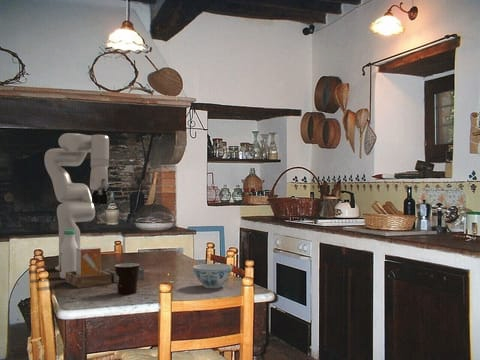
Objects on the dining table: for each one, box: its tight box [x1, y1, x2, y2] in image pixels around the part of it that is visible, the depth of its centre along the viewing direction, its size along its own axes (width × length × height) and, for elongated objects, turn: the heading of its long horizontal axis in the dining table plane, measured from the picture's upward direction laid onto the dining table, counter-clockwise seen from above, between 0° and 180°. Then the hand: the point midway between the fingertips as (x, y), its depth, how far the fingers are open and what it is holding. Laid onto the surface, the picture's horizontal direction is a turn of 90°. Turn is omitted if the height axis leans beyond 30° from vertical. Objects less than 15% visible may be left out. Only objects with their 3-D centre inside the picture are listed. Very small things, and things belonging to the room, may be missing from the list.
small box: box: [76, 246, 102, 277], centre depth 199 cm, size 8×6×13 cm
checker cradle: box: [103, 267, 145, 283], centre depth 207 cm, size 11×13×4 cm
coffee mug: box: [114, 262, 140, 296], centre depth 177 cm, size 12×9×10 cm
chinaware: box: [192, 263, 233, 289], centre depth 190 cm, size 15×15×8 cm
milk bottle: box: [59, 230, 78, 280], centre depth 212 cm, size 8×8×20 cm
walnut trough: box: [65, 270, 112, 289], centre depth 198 cm, size 16×13×4 cm
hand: (99, 203), depth 212 cm, fingers open, 9 cm apart
